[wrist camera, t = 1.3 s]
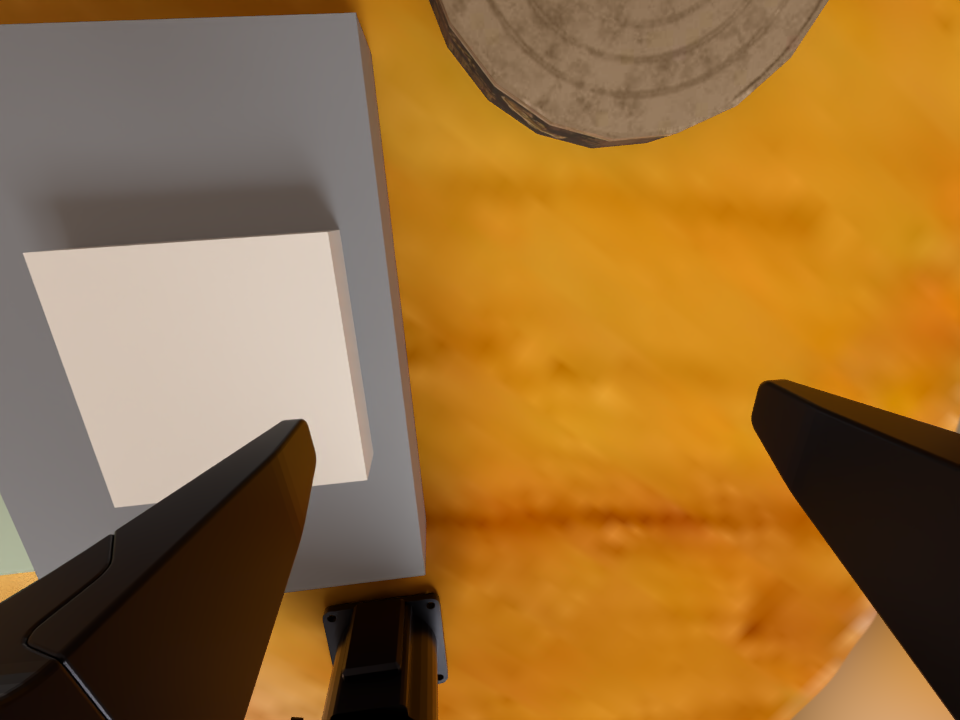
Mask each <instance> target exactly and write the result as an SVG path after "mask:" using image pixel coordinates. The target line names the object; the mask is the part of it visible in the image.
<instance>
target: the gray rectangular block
mask: <svg viewBox="0 0 960 720" xmlns="http://www.w3.org/2000/svg"><path fill="white" fill-rule="evenodd" d="M328 230H340V235H341V242H342V249H343V255H344V262H345V268H346V275H347V282H348V288H349V295H350V301H351V308H352V315H353V321H354V328H355V334H356V341H357V348H358V354H359V361H360V368H361V374H362V381H363V387H364V394H365V401H366V407H367V414H368V420H369V427H370V434H371V440H372V447H373V453H374V454H373V458H372V462H371V467H370V471H369V475H368V479H367V480H364V481H355V482H346V483H336V484H327V485H318V486H312V489H311V494H310V499H309V504H308V510H307V515H306V520H305V525H304V530H303V534H302V538H301V541H300V545H299V548H298V551H297V554H296V557H295V560H294V564H293V567H292V570H291V573H290V576H289V579H288V583H287V586H286V589H285V592H284V593H287V592H295V591H303V590H311V589H319V588H327V587H335V586H342V585H350V584H358V583H366V582H374V581H382V580H390V579H398V578H406V577H414V576H422V575H425V560H426V515H425V507H424V498H423V490H422V481H421V473H420V464H419V456H418V447H417V439H416V430H415V422H414V413H413V405H412V396H411V388H410V379H409V371H408V362H407V354H406V345H405V337H404V328H403V320H402V311H401V303H400V294H399V286H398V277H397V269H396V260H395V252H394V243H393V235H392V226H391V218H390V209H389V201H388V192H387V184H386V175H385V167H384V158H383V150H382V141H381V133H380V124H379V116H378V107H377V99H376V90H375V82H374V73H373V65H372V56H371V52H370V49H369V47H368V44H367V41H366V39H365V36H364V33H363V31H362V28H361V26H360V23H359V20H358V18H357V15H356V13H331V14H301V15H271V16H242V17H212V18H182V19H152V20H122V21H92V22H62V23H32V24H2V25H0V494H1V496H2V499H3V501H4V503H5V505H6V508H7V510H8V512H9V514H10V516H11V519H12V521H13V523H14V525H15V528H16V530H17V532H18V534H19V537H20V539H21V541H22V543H23V546H24V548H25V550H26V552H27V555H28V557H29V559H30V561H31V564H32V566H33V568H34V570H35V573H36V575H37V577H38V579H41V578H42V577H44V576H45V575H47V574H49V573H50V572H52V571H53V570H55V569H57V568H58V567H60V566H61V565H63V564H64V563H66V562H68V561H69V560H71V559H72V558H74V557H75V556H77V555H78V554H80V553H82V552H83V551H85V550H86V549H88V548H89V547H91V546H92V545H94V544H95V543H97V542H98V541H100V540H101V539H103V538H104V537H106V536H107V535H109V534H114V532H115V530H117V529H118V528H120V527H121V526H123V525H124V524H126V523H127V522H129V521H130V520H132V519H134V518H135V517H137V516H138V515H140V514H141V513H143V512H144V511H146V510H147V509H149V508H150V507H152V506H153V505H155V504H156V503H153V504H144V505H135V506H126V507H117V508H115V507H114V505H113V502H112V499H111V496H110V493H109V491H108V488H107V485H106V482H105V480H104V477H103V474H102V471H101V468H100V466H99V463H98V460H97V457H96V455H95V452H94V449H93V446H92V444H91V441H90V438H89V435H88V432H87V430H86V427H85V424H84V421H83V419H82V416H81V413H80V410H79V408H78V405H77V402H76V399H75V396H74V394H73V391H72V388H71V385H70V383H69V380H68V377H67V374H66V372H65V369H64V366H63V363H62V360H61V358H60V355H59V352H58V349H57V347H56V344H55V341H54V338H53V336H52V333H51V330H50V327H49V324H48V322H47V319H46V316H45V313H44V311H43V308H42V305H41V302H40V299H39V297H38V294H37V291H36V288H35V286H34V283H33V280H32V277H31V275H30V272H29V269H28V266H27V263H26V261H25V258H24V255H23V253H26V252H37V251H47V250H57V249H67V248H79V247H94V246H109V245H123V244H138V243H152V242H167V241H182V240H196V239H211V238H226V237H240V236H255V235H269V234H284V233H299V232H313V231H328Z"/></svg>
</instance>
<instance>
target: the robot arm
mask: <svg viewBox="0 0 960 720" xmlns="http://www.w3.org/2000/svg"><path fill="white" fill-rule="evenodd" d="M751 421H752V425H753V428H754V430H755V432H756V433H757V435H758V437H759V439H760V440H761V442H762V444H763V445H764V447H765V449H766V451H767V452H768V454H769V456H770V458H771V459H772V461H773V463H774V465H775V466H776V468H777V470H778V472H779V473H780V475H781V477H782V478H783V480H784V482H785V483H786V485H787V487H788V488H789V490H790V492H791V493H792V494H793V496H794V497H795V499H796V500H797V502H798V503H799V505H800V506H801V507H802V509H803V510H804V511H805V513H806V514H807V516H808V517H809V518H810V520H811V521H812V523H813V524H814V525H815V527H816V528H817V529H818V531H819V532H820V534H821V535H822V536H823V538H824V539H825V541H826V542H827V543H828V545H829V546H830V547H831V549H832V550H833V552H834V553H835V554H836V556H837V557H838V559H839V560H840V561H841V563H842V564H843V565H844V567H845V568H846V570H847V571H848V572H849V574H850V575H851V577H852V578H853V579H854V581H855V582H856V583H857V585H858V586H859V588H860V589H861V590H862V592H863V593H864V595H865V596H866V597H867V599H868V600H869V601H870V603H871V604H872V606H873V607H874V608H875V610H876V611H877V613H878V614H879V615H880V617H881V618H882V619H883V621H884V622H885V624H886V625H887V626H888V628H889V629H890V631H891V632H892V633H893V635H894V636H895V637H896V639H897V640H898V641H899V643H900V644H901V646H902V647H903V649H904V650H905V651H906V653H907V654H908V655H909V657H910V658H911V660H912V661H913V662H914V664H915V665H916V667H917V668H918V669H919V671H920V672H921V674H922V675H923V676H924V678H925V679H926V680H927V682H928V683H929V685H930V686H931V687H932V689H933V690H934V691H935V692H936V694H937V696H938V697H939V698H940V700H941V701H942V703H943V704H944V705H945V707H946V708H947V709H948V711H949V712H950V714H951V715H952V716H953V718H954V719H955V720H960V434H959V433H956V432H953V431H949V430H946V429H943V428H940V427H937V426H933V425H930V424H927V423H924V422H921V421H917V420H914V419H911V418H908V417H904V416H901V415H898V414H895V413H892V412H888V411H885V410H882V409H879V408H875V407H872V406H869V405H866V404H863V403H859V402H856V401H853V400H850V399H847V398H843V397H840V396H837V395H834V394H830V393H827V392H824V391H821V390H818V389H814V388H811V387H808V386H805V385H801V384H798V383H795V382H792V381H789V380H783V379H780V380H768V381H764V382H762V383H761V384H760V386H759V388H758V391H757V395H756V399H755V403H754V407H753V411H752V416H751ZM315 468H316V452H315V448H314V445H313V441H312V437H311V434H310V430H309V426H308V424H307V422H306V421H305V420H304V419H291V420H283V421H281V422H279V423H278V424H276V425H275V426H273V427H272V428H270V429H269V430H267V431H266V432H264V433H263V434H261V435H260V436H258V437H257V438H255V439H254V440H252V441H251V442H249V443H248V444H246V445H244V446H243V447H241V448H240V449H238V450H237V451H235V452H234V453H232V454H231V455H229V456H228V457H226V458H225V459H223V460H222V461H220V462H219V463H217V464H216V465H214V466H213V467H211V468H210V469H208V470H206V471H205V472H203V473H202V474H200V475H199V476H197V477H196V478H194V479H193V480H191V481H190V482H188V483H187V484H185V485H184V486H182V487H181V488H179V489H178V490H176V491H175V492H173V493H172V494H170V495H168V496H167V497H165V498H164V499H162V500H161V501H159V502H158V503H156V504H155V505H153V506H152V507H150V508H149V509H147V510H146V511H144V512H143V513H141V514H140V515H138V516H137V517H135V518H134V519H132V520H130V521H129V522H127V523H126V524H124V525H123V526H121V527H120V528H118V529H117V530H115V532H114V534H109V535H107V536H106V537H104V538H103V539H101V540H100V541H98V542H97V543H95V544H94V545H92V546H91V547H89V548H88V549H86V550H85V551H83V552H82V553H80V554H78V555H77V556H75V557H74V558H72V559H71V560H69V561H68V562H66V563H64V564H63V565H61V566H60V567H58V568H57V569H55V570H53V571H52V572H50V573H49V574H47V575H45V576H44V577H42V578H41V579H39V580H37V581H36V582H34V583H32V584H31V585H29V586H27V587H26V588H24V589H22V590H21V591H19V592H17V593H16V594H14V595H12V596H11V597H9V598H7V599H6V600H4V601H2V602H1V603H0V720H244V718H245V715H246V712H247V709H248V706H249V702H250V699H251V696H252V693H253V690H254V687H255V683H256V680H257V677H258V674H259V671H260V668H261V665H262V661H263V658H264V655H265V652H266V649H267V646H268V642H269V639H270V636H271V633H272V630H273V627H274V624H275V620H276V617H277V614H278V611H279V608H280V605H281V601H282V598H283V595H284V592H285V589H286V586H287V583H288V579H289V576H290V573H291V570H292V567H293V564H294V560H295V557H296V554H297V551H298V548H299V545H300V541H301V538H302V534H303V530H304V525H305V520H306V515H307V510H308V504H309V499H310V494H311V489H312V483H313V478H314V473H315ZM429 602H433V603H432V604H429ZM330 615H334V616H330ZM323 623H324V628H325V632H326V637H327V642H328V646H329V651H330V655H331V660H332V665H333V670H332V674H331V679H330V684H329V688H328V693H327V698H326V702H325V707H324V711H323V716H322V720H438V684H440V683H443V682H445V681H446V680H447V678H448V669H447V660H446V652H445V643H444V634H443V625H442V617H441V608H440V599H439V596H437V595H436V594H434V593H428V594H420V595H412V596H405V597H397V598H389V599H381V600H374V601H366V602H358V603H350V604H343V605H335V606H330V607H328V608H326V610H325V611H324V615H323ZM291 720H303V718H299V717H291Z"/></svg>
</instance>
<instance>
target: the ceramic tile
mask: <svg viewBox="0 0 960 720" xmlns="http://www.w3.org/2000/svg"><path fill="white" fill-rule="evenodd" d="M23 255H24V258H25V261H26V263H27V266H28V269H29V272H30V275H31V277H32V280H33V283H34V286H35V288H36V291H37V294H38V297H39V299H40V302H41V305H42V308H43V311H44V313H45V316H46V319H47V322H48V324H49V327H50V330H51V333H52V336H53V338H54V341H55V344H56V347H57V349H58V352H59V355H60V358H61V360H62V363H63V366H64V369H65V372H66V374H67V377H68V380H69V383H70V385H71V388H72V391H73V394H74V396H75V399H76V402H77V405H78V408H79V410H80V413H81V416H82V419H83V421H84V424H85V427H86V430H87V432H88V435H89V438H90V441H91V444H92V446H93V449H94V452H95V455H96V457H97V460H98V463H99V466H100V468H101V471H102V474H103V477H104V480H105V482H106V485H107V488H108V491H109V493H110V496H111V499H112V502H113V505H114V507H115V508H117V507H126V506H135V505H144V504H153V503H158V502H159V501H161V500H162V499H164V498H165V497H167V496H168V495H170V494H172V493H173V492H175V491H176V490H178V489H179V488H181V487H182V486H184V485H185V484H187V483H188V482H190V481H191V480H193V479H194V478H196V477H197V476H199V475H200V474H202V473H203V472H205V471H206V470H208V469H210V468H211V467H213V466H214V465H216V464H217V463H219V462H220V461H222V460H223V459H225V458H226V457H228V456H229V455H231V454H232V453H234V452H235V451H237V450H238V449H240V448H241V447H243V446H244V445H246V444H248V443H249V442H251V441H252V440H254V439H255V438H257V437H258V436H260V435H261V434H263V433H264V432H266V431H267V430H269V429H270V428H272V427H273V426H275V425H276V424H278V423H279V422H281V421H283V420H291V419H304V420H305V421H306V422H307V424H308V426H309V430H310V434H311V437H312V441H313V445H314V448H315V452H316V468H315V473H314V478H313V483H312V486H318V485H327V484H336V483H346V482H355V481H364V480H367V479H368V475H369V471H370V467H371V462H372V458H373V454H374V453H373V447H372V440H371V434H370V427H369V420H368V414H367V407H366V401H365V394H364V387H363V381H362V374H361V368H360V361H359V354H358V348H357V341H356V334H355V328H354V321H353V315H352V308H351V301H350V295H349V288H348V282H347V275H346V268H345V262H344V255H343V249H342V242H341V235H340V230H328V231H313V232H299V233H284V234H269V235H255V236H240V237H226V238H211V239H196V240H182V241H167V242H152V243H138V244H123V245H109V246H94V247H79V248H67V249H57V250H47V251H37V252H26V253H23Z"/></svg>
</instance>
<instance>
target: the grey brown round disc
mask: <svg viewBox="0 0 960 720" xmlns="http://www.w3.org/2000/svg"><path fill="white" fill-rule="evenodd" d="M429 1H430V4H431V7H432V9H433V12H434V14H435V17H436V19H437V22H438V24H439V27H440V30H441V32H442V35H443V37H444V40H445V42H446V45H447V47H448V49H449V50H450V51H451V52H452V54H453V55H454V56H455V58H456V59H457V60H458V62H459V63H460V64H461V66H462V67H463V68H464V69H465V71H466V72H467V73H468V75H469V76H470V77H471V79H472V80H473V81H474V82H475V84H476V85H477V86H478V88H479V89H480V90H481V92H482V93H483V94H484V95H485V97H486V98H487V99H488V100H489V101H490V102H492V103H493V104H495V105H496V106H497V107H499V108H500V109H502V110H503V111H505V112H506V113H508V114H509V115H510V116H512V117H513V118H515V119H516V120H518V121H519V122H521V123H522V124H524V125H525V126H526V127H528V128H529V129H531V130H532V131H534V132H535V133H537V134H539V135H543V136H547V137H551V138H554V139H558V140H562V141H566V142H569V143H573V144H577V145H581V146H585V147H588V148H600V147H610V146H620V145H631V144H641V143H648V142H651V141H654V140H657V139H660V138H663V137H667V136H670V135H673V134H676V133H678V132H681V131H683V130H685V129H687V128H689V127H691V126H694V125H696V124H698V123H700V122H702V121H704V120H707V119H709V118H711V117H713V116H715V115H717V114H720V113H722V112H724V111H726V110H728V109H731V108H733V107H735V106H737V105H738V104H739V103H740V102H741V101H742V100H744V99H745V98H746V97H747V96H748V95H749V94H750V93H751V92H753V91H754V90H755V89H756V88H757V87H758V86H759V85H760V84H762V83H763V82H764V81H765V80H766V79H767V78H768V77H769V76H771V75H772V74H773V73H774V72H775V71H776V70H777V69H778V68H780V67H781V66H782V65H783V64H784V63H785V62H786V61H787V60H789V59H790V58H791V56H792V55H793V53H794V52H795V50H796V49H797V47H798V46H799V44H800V43H801V41H802V40H803V38H804V37H805V35H806V34H807V32H808V31H809V29H810V28H811V26H812V25H813V23H814V22H815V20H816V18H817V17H818V15H819V14H820V12H821V11H822V9H823V8H824V6H825V5H826V3H827V2H828V0H429Z"/></svg>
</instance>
